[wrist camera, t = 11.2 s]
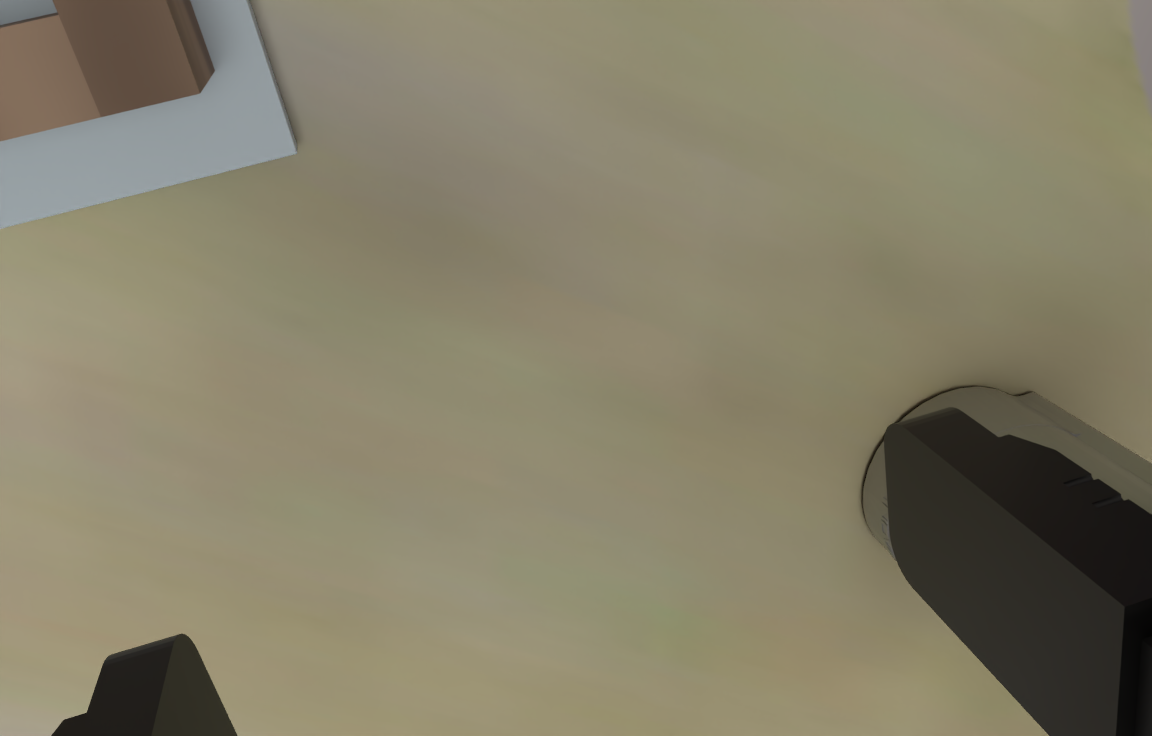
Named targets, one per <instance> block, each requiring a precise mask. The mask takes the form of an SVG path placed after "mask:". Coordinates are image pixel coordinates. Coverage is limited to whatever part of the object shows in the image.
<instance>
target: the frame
mask: <svg viewBox="0 0 1152 736" xmlns="http://www.w3.org/2000/svg"><path fill="white" fill-rule="evenodd" d="M52 1H53V3H54V5H55V8H56V10H57V13H52V14H48V15H43V16H39V17H34V18H30V19H25V20H21V21H16V22H12V23H7V24H3V25H0V141H4V140H8V139H13V138H17V137H21V136H25V135H29V134H34V133H38V132H42V131H46V130H50V129H54V128H59V127H63V126H67V125H71V124H75V123H80V122H84V121H88V120H92V119H96V118H100V117H105V116H109V115H113V114H117V113H121V112H126V111H130V110H134V109H138V108H142V107H146V106H151V105H155V104H159V103H163V102H167V101H172V100H176V99H180V98H184V97H188V96H192V95H197V94H200V93H201V92H202V90H203V89H204V87H205V86H206V84H207V83H208V81H209V79H210V78H211V76H212V75H213V73H214V72H215V69H214V66H213V63H212V61H211V58H210V55H209V52H208V49H207V46H206V44H205V41H204V38H203V35H202V32H201V30H200V27H199V24H198V21H197V18H196V15H195V13H194V10H193V7H192V4H191V1H190V0H52Z"/></svg>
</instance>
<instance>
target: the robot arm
mask: <svg viewBox="0 0 1152 736" xmlns="http://www.w3.org/2000/svg"><path fill="white" fill-rule="evenodd" d="M863 509H864V514H865V519H866V522H867V524H868V526H869V528H870V530H871V532H872V534H873V535H874V537H875V538H876V539H877V540H878V541H879V542H880V543H881V544H882V545H883V546H884V547H885V548H886V549H887V550H888V551H889V553H890V554H891V556H892V557H893V558H894V559H895V560H896V561H897V563H898V565H899V567H900V569H901V571H902V573H903V575H904V576H905V578H906V580H907V581H908V583H909V584H910V585H911V586H912V588H913V589H914V590H915V591H916V592H917V593H918V594H919V595H920V596H921V597H922V599H923V600H924V601H925V602H926V603H927V604H928V605H929V606H930V607H931V608H932V609H933V610H934V612H935V613H936V614H937V615H938V616H939V617H940V618H941V619H942V620H943V621H944V622H945V623H946V624H947V626H948V627H949V628H950V629H951V630H952V631H953V632H954V633H955V634H956V635H957V636H958V637H959V639H960V640H961V641H962V642H963V643H964V644H965V645H966V646H967V647H968V648H969V649H970V650H971V652H972V653H973V654H974V655H975V656H976V657H977V658H978V659H979V660H980V661H981V662H982V663H983V664H984V666H985V667H986V668H987V669H988V670H989V671H990V672H991V673H992V674H993V675H994V676H995V677H996V679H997V680H998V681H999V682H1000V683H1001V684H1002V685H1003V686H1004V687H1005V688H1006V689H1007V690H1008V692H1009V693H1010V694H1011V695H1012V696H1013V697H1014V698H1015V699H1016V700H1017V701H1018V702H1019V703H1020V704H1021V706H1022V707H1023V708H1024V709H1025V710H1026V711H1027V712H1028V713H1029V714H1030V715H1031V716H1032V717H1033V719H1034V720H1035V721H1036V722H1037V723H1038V724H1039V725H1040V726H1041V727H1042V728H1043V729H1044V730H1045V732H1046V733H1047V734H1048V735H1049V736H1152V464H1151V463H1150V462H1148V461H1147V460H1145V459H1143V458H1142V457H1140V456H1138V455H1137V454H1135V453H1133V452H1132V451H1130V450H1128V449H1127V448H1125V447H1124V446H1122V445H1120V444H1119V443H1117V442H1115V441H1114V440H1112V439H1110V438H1109V437H1107V436H1106V435H1104V434H1102V433H1101V432H1099V431H1097V430H1096V429H1094V428H1092V427H1091V426H1089V425H1087V424H1086V423H1084V422H1083V421H1081V420H1079V419H1078V418H1076V417H1074V416H1073V415H1071V414H1069V413H1068V412H1066V411H1064V410H1063V409H1061V408H1060V407H1058V406H1056V405H1055V404H1053V403H1051V402H1050V401H1048V400H1046V399H1045V398H1043V397H1042V396H1040V395H1038V394H1037V393H1035V392H1032V393H1028V394H1025V395H1022V396H1012V395H1009V394H1007V393H1004V392H1002V391H1000V390H997V389H994V388H986V387H979V386H977V387H967V388H959V389H956V390H952V391H949V392H946V393H943V394H940V395H938V396H936V397H934V398H932V399H930V400H928V401H926V402H925V403H923V404H921V405H920V406H918V407H917V408H916V409H914V410H913V411H912V412H910V413H909V414H908V415H906V416H905V417H904V418H903V419H902V420H901V421H900V422H897V423H894V424H891V425H890V426H889V427H888V428H887V430H886V432H885V436H884V441H883V442H882V444H881V445H880V447H879V448H878V450H877V451H876V453H875V456H874V458H873V460H872V462H871V464H870V466H869V468H868V472H867V476H866V480H865V484H864V487H863ZM51 736H237V734H236V732H235V729H234V727H233V725H232V723H231V721H230V719H229V717H228V714H227V712H226V710H225V708H224V706H223V704H222V702H221V700H220V697H219V695H218V693H217V691H216V689H215V687H214V685H213V682H212V680H211V678H210V676H209V674H208V672H207V670H206V667H205V665H204V663H203V661H202V659H201V657H200V655H199V652H198V650H197V648H196V647H195V645H194V643H193V642H192V640H191V639H190V638H189V637H188V636H187V635H185V634H179V635H175V636H172V637H169V638H165V639H162V640H159V641H155V642H152V643H149V644H145V645H142V646H138V647H135V648H132V649H128V650H125V651H122V652H118V653H115V654H112V655H110V656H108V657H107V658H106V660H105V661H104V664H103V666H102V669H101V672H100V675H99V678H98V681H97V684H96V687H95V690H94V693H93V696H92V699H91V702H90V705H89V708H88V711H87V713H85V714H81V715H78V716H75V717H72V718H68V719H65V720H63V722H62V723H61V724H60V725H59V727H58V728H57V729H56V730H55V732H54V733H53V734H52V735H51Z"/></svg>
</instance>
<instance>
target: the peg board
mask: <svg viewBox="0 0 1152 736" xmlns="http://www.w3.org/2000/svg"><path fill="white" fill-rule="evenodd" d="M190 1H191V4H192V7H193V10H194V13H195V15H196V18H197V21H198V24H199V27H200V30H201V32H202V35H203V38H204V41H205V44H206V46H207V49H208V52H209V55H210V58H211V61H212V63H213V66H214V69H215V72H214V73H213V75H212V76H211V78H210V79H209V81H208V83H207V84H206V86H205V87H204V89H203V90H202V92H201V93H200V94H197V95H192V96H188V97H184V98H180V99H176V100H172V101H167V102H163V103H159V104H155V105H151V106H146V107H142V108H138V109H134V110H130V111H126V112H121V113H117V114H113V115H109V116H105V117H100V118H96V119H92V120H88V121H84V122H80V123H75V124H71V125H67V126H63V127H59V128H54V129H50V130H46V131H42V132H38V133H34V134H29V135H25V136H21V137H17V138H13V139H8V140H4V141H0V229H1V228H5V227H9V226H13V225H17V224H21V223H25V222H29V221H33V220H37V219H41V218H45V217H49V216H53V215H57V214H61V213H65V212H69V211H73V210H76V209H80V208H84V207H88V206H92V205H96V204H100V203H104V202H108V201H112V200H116V199H120V198H124V197H128V196H132V195H136V194H140V193H144V192H148V191H152V190H156V189H160V188H164V187H168V186H171V185H175V184H179V183H183V182H187V181H191V180H195V179H199V178H203V177H207V176H211V175H215V174H219V173H223V172H227V171H231V170H235V169H239V168H243V167H247V166H251V165H255V164H259V163H263V162H266V161H270V160H274V159H278V158H282V157H286V156H290V155H294V154H297V143H296V140H295V137H294V134H293V131H292V128H291V125H290V122H289V119H288V116H287V113H286V110H285V107H284V104H283V101H282V98H281V95H280V92H279V88H278V85H277V82H276V79H275V76H274V73H273V70H272V67H271V64H270V61H269V58H268V55H267V52H266V49H265V46H264V43H263V40H262V37H261V34H260V31H259V28H258V25H257V22H256V19H255V16H254V12H253V9H252V6H251V3H250V0H190ZM52 13H57V10H56V8H55V5H54V3H53V1H52V0H0V25H3V24H7V23H12V22H16V21H21V20H25V19H30V18H34V17H39V16H43V15H48V14H52Z"/></svg>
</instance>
